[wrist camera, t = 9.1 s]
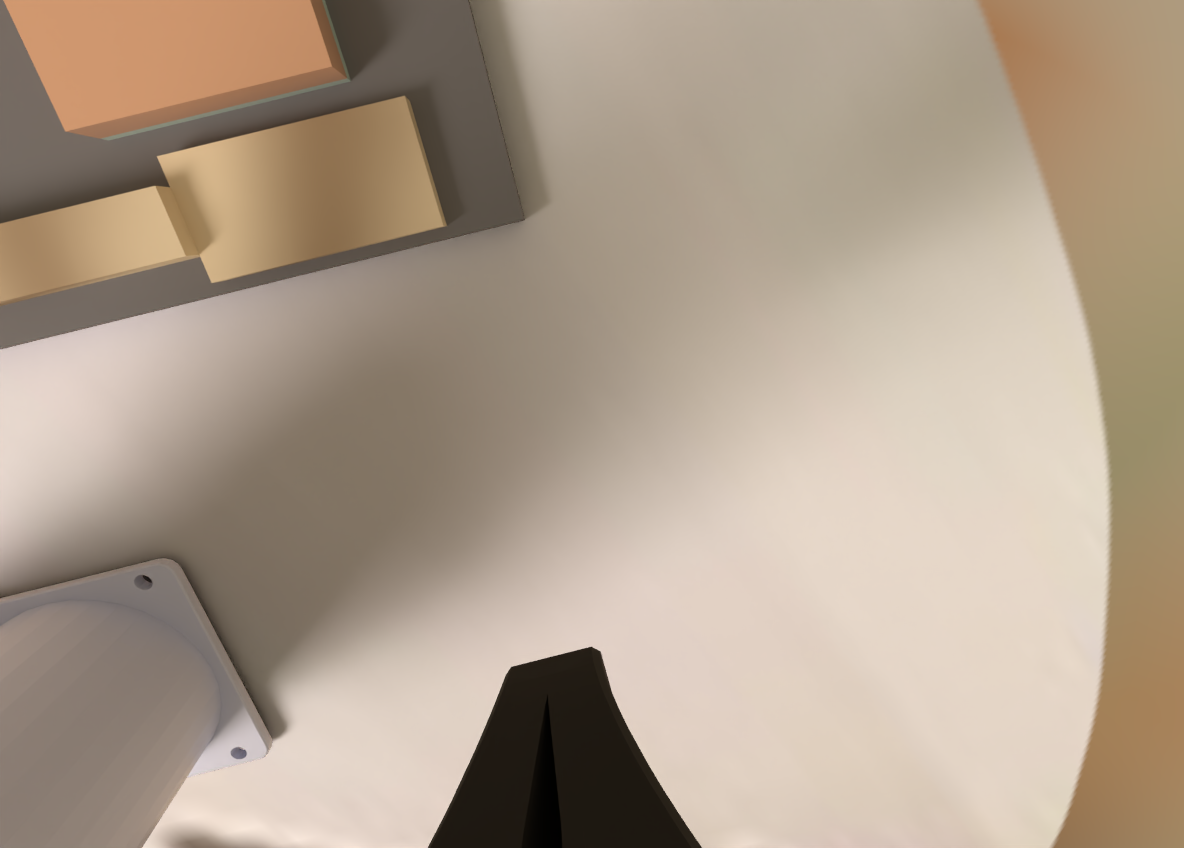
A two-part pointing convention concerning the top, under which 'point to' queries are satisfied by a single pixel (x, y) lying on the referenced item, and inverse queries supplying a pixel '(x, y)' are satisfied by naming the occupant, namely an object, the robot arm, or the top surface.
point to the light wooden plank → (240, 206)
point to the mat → (377, 72)
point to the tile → (173, 58)
